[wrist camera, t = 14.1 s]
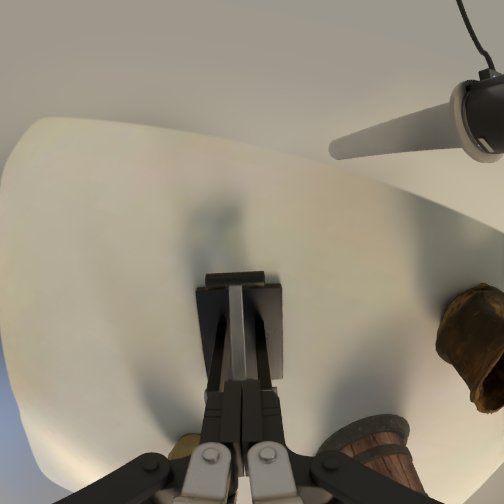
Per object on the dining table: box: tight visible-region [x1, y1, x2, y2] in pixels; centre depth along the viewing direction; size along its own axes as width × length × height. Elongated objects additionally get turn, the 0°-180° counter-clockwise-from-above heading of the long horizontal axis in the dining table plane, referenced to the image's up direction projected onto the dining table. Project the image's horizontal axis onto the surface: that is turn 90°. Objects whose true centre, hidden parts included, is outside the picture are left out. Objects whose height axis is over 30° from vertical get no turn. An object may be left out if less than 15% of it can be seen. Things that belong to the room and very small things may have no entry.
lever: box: [205, 271, 265, 385], centre depth 25 cm, size 12×5×2 cm, turn 2°
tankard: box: [316, 414, 429, 497], centre depth 32 cm, size 24×17×20 cm
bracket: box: [196, 284, 283, 404], centre depth 28 cm, size 12×9×13 cm
